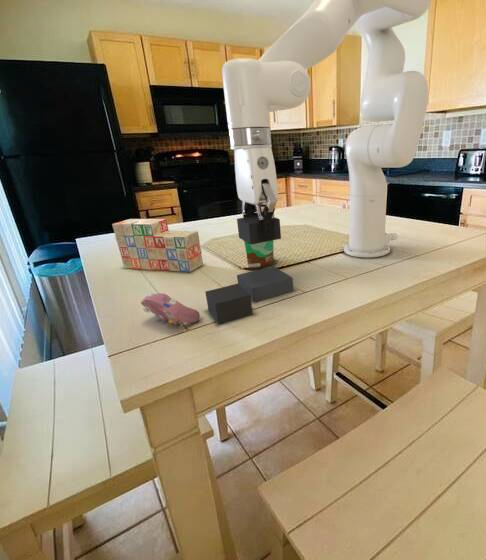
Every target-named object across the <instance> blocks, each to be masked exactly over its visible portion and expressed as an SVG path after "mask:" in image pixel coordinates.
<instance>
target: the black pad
mask: <svg viewBox="0 0 486 560" xmlns="http://www.w3.org/2000/svg"><path fill="white" fill-rule="evenodd" d="M204 293H205V299H206V304H207V305H206V306H207V310H208V312H209V314H210V315H211V316H212V318H213V319H214V320H215V322H216V323H217V324H218V325H221V324H225V323H228V322H232V321H234V320H238V319H242V318H245V317H248V316H252V315H253V314H254V313H253V306H252V299H251V296H250V294H249V293H248V292H247V291H246V290H245V289H243V288H242V287H241V286H240V285H239V284H238V283H234V284H230V285H225V286H222V287H218V288H214V289H210V290H206V291H205V292H204Z"/></svg>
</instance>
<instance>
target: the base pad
mask: <svg viewBox="0 0 486 560" xmlns="http://www.w3.org/2000/svg"><path fill="white" fill-rule="evenodd" d="M236 279H237V284H239V285H240V286H241V287H242V288H243V289H245V290H246V291H247V292H248V293H249V294H250V296H251V301H253V302H258V301H263V300H265V299H269V298H273V297H276V296H280V295H283V294H286V293H291V292H294V279H293V277H292V276H290V275H289V274H287V273H286V272H284V271H283V270H281V269H279V268H278V267H276V266H274V265H271V266H269V267H267V268H263V269H257V270H250V271H247V272H242V273H239V274H236Z"/></svg>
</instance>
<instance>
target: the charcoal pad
mask: <svg viewBox="0 0 486 560" xmlns="http://www.w3.org/2000/svg"><path fill="white" fill-rule="evenodd" d="M257 220H259V217H258V216H252V217H245V218H243V217H240V218H236V224H237V233H238V238H239V239H240V240H242V241H243V240H244V241H246V242H247V243H249V244H257V243H262V242H267V241H272V240H273V241H276V240H281V239H282V232H281V219H280V218H278V217H275V216H274V231H275V238H274V239H269V240H264V241H260V240H259V236H258V225H257ZM244 241H243V242H244Z"/></svg>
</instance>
